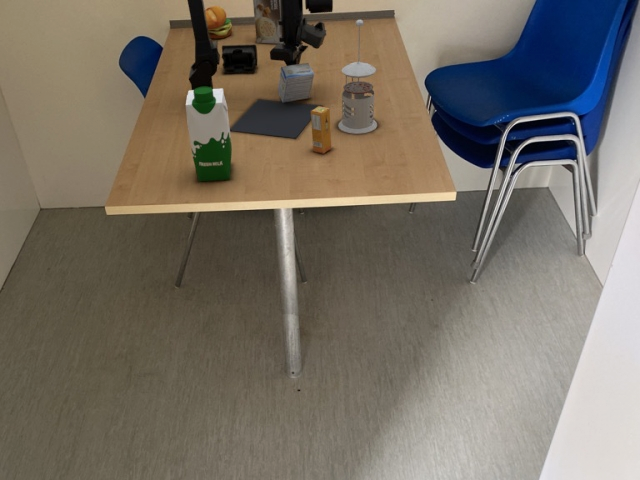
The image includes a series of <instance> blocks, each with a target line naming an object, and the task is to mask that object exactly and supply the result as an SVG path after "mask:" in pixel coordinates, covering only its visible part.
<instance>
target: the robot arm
mask: <svg viewBox="0 0 640 480" xmlns="http://www.w3.org/2000/svg"><path fill="white" fill-rule="evenodd" d="M187 5H188V11H189V16H190V22H191V26H192V32H193V38H194V62H193V64H192V65H191V66H190V69H189V74H188V75H189V76H188V81H189V83H190V87H191V90H194V89H196V88H199V87H211V88H212V89H214V82H213V77H214V76H215V75H216V73H218V66H220V63H221V62H220V61H221V54H220V52H219V49H218V45H219V43H218V40H215V41H213V40H212V38H210V35H209V31H208V25H207V19H206V14H205V10H206V8H205V4H204V0H187ZM304 6H305V7H304ZM304 8H305V10H306V11H307V10H308V12H309V14H310V15H311V14H313V15H314V14H326V13H333V10H334V0H280V12H281V19H280V20H279V21H278V24H279V25H281V30H282V36H281V37H280V38H279V42H284V43H283V44H276V45H275V46H273V48H271V50H269V59H270V60H271V61H278V62H284V64H285V66H290V65H297V64H301V63H300V62H301V59H302V54H303V53H304V52H305V51H306V50H307V49H308V48H309V46H311V47H312V48H313V49H317V50H318V49H320V48H321V46H322V45H323V43H324V40H325V37H326V36H327V30H326V26H325V22H322V21H321V20H318V22H317V23H316V24H315V25H314V24H309V23H308V18H307V17H306V16H305V15H304ZM304 43H305V44H307V45H304Z"/></svg>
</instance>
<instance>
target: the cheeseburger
mask: <svg viewBox="0 0 640 480" xmlns="http://www.w3.org/2000/svg"><path fill="white" fill-rule="evenodd" d="M205 14H206V19H207V25H208V31H209V35H210V38H211V39H224V38H227V37H229V36H230V35H231V34H232V28H233V24H232V20H231V19H230V18H227V13H226V10H225V9H223V7H221V6H220V5H219V6H218V5H213V6H209V7H207V8H205Z"/></svg>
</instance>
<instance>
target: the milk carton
mask: <svg viewBox="0 0 640 480" xmlns="http://www.w3.org/2000/svg"><path fill="white" fill-rule="evenodd" d="M227 103H228V102H227V100H226V97H225V91H224V88H223V87H222V88H221V87H220V88H213V89H212V88H211V87H199V88H196V89H194V90H192V89H191V90H188V92H187V94H186V100H185V112H186V122H187V129H188V136H189V144H190V148H191V155H192V159H193V164H194V167H195V171H196V175H197V179H198V182H211V181H230V180H231V179H230V178H231V168H232V167H231V166H232V155H233V154H232V152H233V147H232V137H231V131H230V129H231V127H230V119H229V113H228V110H229V109H228V104H227Z"/></svg>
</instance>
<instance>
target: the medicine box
mask: <svg viewBox="0 0 640 480" xmlns="http://www.w3.org/2000/svg"><path fill="white" fill-rule="evenodd" d="M314 78H315V72H314V71H313V69H312V66H311V65H310V63H309V62H305V63H299V64H297V65H290V66H287V65H285V66H281V67H280V72H279V79H278V87H277V93H278V96H279V98H280V100H281V101H282V102H283V103H284V102H296V101H300V100H307V99H310V97H311V93H312V88H313V82H314Z"/></svg>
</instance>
